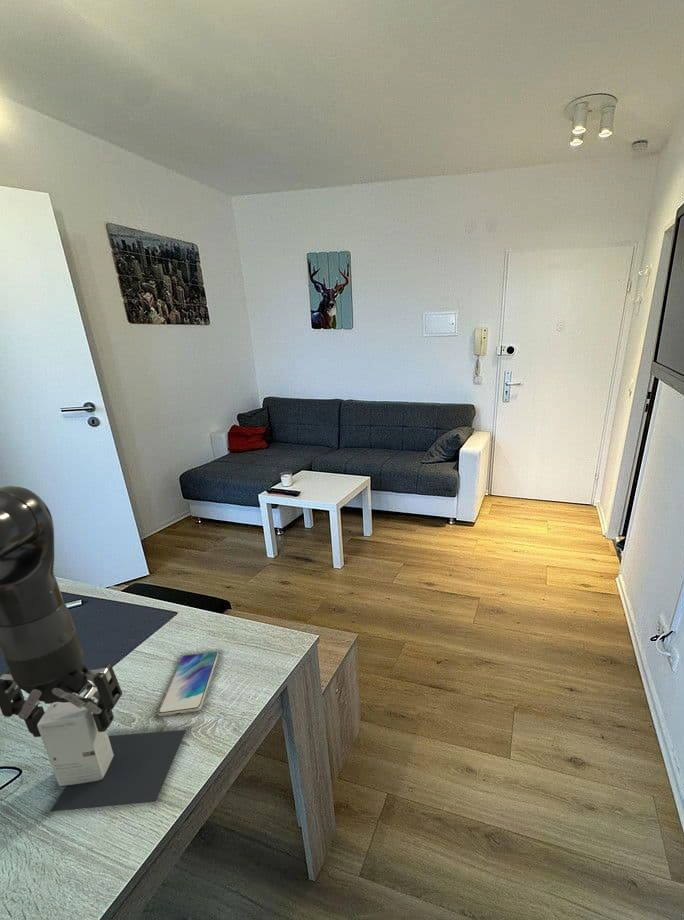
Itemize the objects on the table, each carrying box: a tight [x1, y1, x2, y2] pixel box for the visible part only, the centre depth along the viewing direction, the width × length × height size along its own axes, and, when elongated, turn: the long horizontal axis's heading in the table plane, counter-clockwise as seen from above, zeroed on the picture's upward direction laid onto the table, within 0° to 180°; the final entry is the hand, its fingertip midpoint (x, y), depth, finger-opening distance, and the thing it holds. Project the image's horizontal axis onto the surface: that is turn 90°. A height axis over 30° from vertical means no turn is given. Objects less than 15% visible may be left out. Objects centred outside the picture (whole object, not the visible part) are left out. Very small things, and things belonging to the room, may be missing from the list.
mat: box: [49, 729, 187, 812], centre depth 66 cm, size 14×12×1 cm
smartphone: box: [157, 651, 219, 717], centre depth 82 cm, size 7×1×15 cm
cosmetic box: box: [37, 696, 114, 787], centre depth 63 cm, size 6×4×12 cm
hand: (74, 729), depth 62 cm, fingers open, 8 cm apart
